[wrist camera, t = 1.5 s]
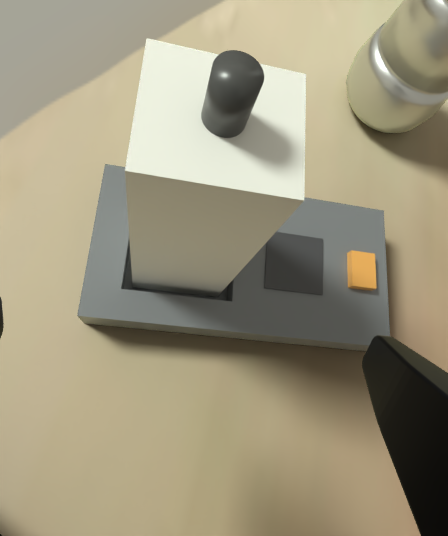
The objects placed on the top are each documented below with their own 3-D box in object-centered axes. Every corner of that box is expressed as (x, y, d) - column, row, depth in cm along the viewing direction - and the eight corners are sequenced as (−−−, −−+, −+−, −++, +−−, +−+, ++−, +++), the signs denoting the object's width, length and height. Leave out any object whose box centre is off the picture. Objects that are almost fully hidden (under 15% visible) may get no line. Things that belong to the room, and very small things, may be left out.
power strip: (361, 226, 26) (388, 207, 23) (365, 351, 23) (396, 346, 21) (108, 186, 23) (104, 158, 20) (84, 323, 21) (75, 313, 18)
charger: (222, 228, 23) (331, 26, 10) (217, 297, 21) (332, 168, 9) (142, 217, 22) (148, -20, 9) (132, 287, 21) (121, 129, 8)
